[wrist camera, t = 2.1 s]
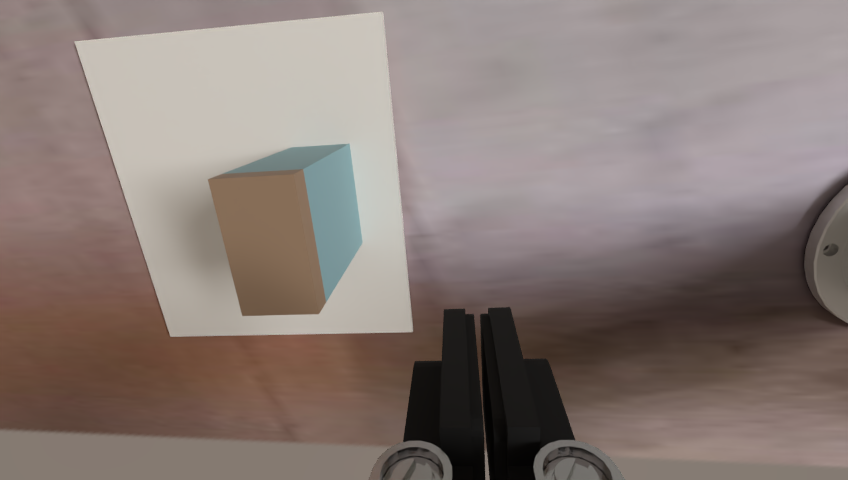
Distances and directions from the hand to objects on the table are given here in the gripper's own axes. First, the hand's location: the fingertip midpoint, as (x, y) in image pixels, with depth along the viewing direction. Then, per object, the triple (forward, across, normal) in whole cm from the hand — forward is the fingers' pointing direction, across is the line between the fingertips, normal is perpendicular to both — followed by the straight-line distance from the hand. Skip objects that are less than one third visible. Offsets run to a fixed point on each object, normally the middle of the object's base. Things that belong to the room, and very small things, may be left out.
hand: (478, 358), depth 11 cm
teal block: (+19, +9, 0) cm, 21 cm away
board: (+19, +14, 0) cm, 24 cm away
